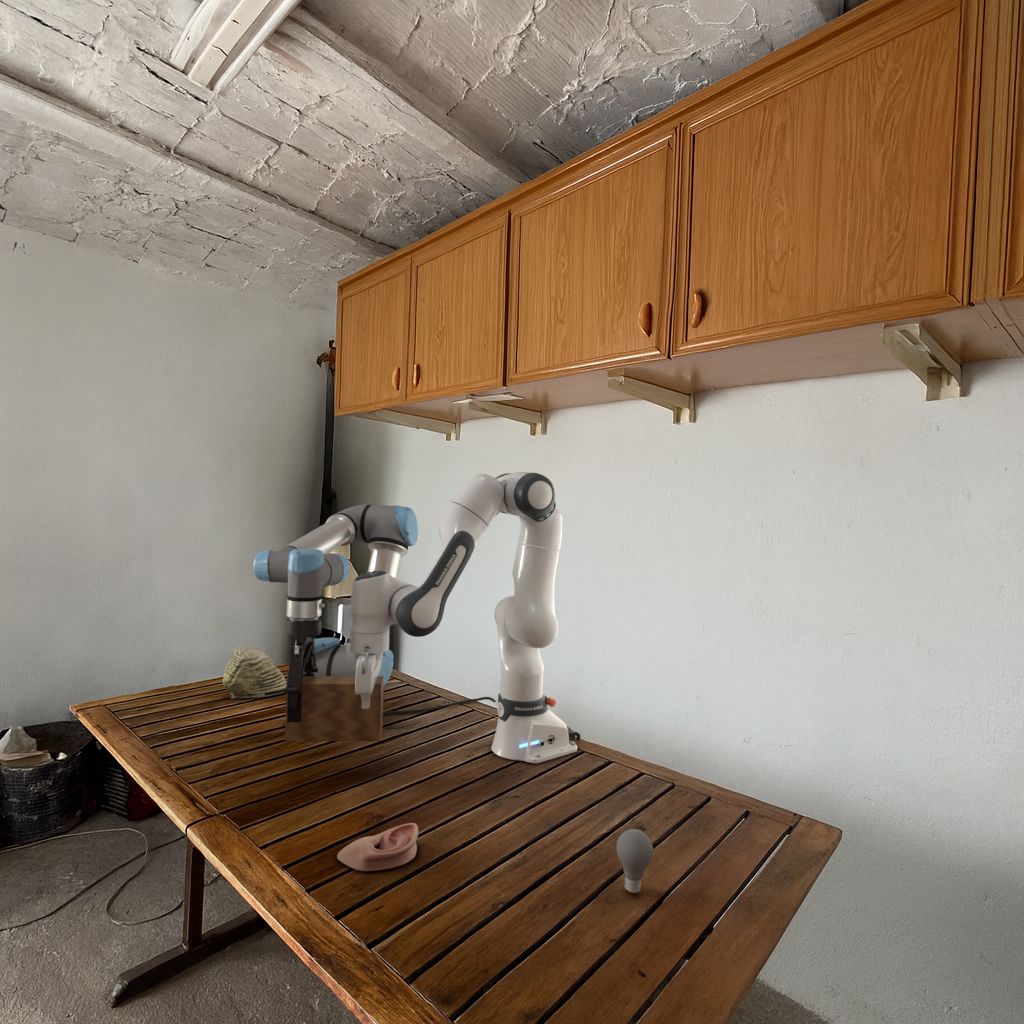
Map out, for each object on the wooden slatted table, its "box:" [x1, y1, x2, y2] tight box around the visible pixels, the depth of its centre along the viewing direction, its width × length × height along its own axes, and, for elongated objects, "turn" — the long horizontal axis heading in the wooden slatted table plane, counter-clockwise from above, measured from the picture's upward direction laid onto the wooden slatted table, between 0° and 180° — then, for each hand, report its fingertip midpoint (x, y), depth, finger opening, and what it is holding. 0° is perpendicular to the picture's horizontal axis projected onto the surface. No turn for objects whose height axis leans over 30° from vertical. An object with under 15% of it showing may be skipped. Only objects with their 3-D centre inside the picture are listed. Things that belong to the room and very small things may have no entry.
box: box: [284, 676, 385, 743], centre depth 144 cm, size 21×6×13 cm, turn 96°
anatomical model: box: [336, 822, 419, 872], centre depth 113 cm, size 13×4×12 cm
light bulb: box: [615, 828, 654, 894], centre depth 106 cm, size 6×6×10 cm
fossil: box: [222, 646, 287, 699], centre depth 198 cm, size 9×18×15 cm, turn 132°
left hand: (301, 711), depth 143 cm, fingers open, 13 cm apart
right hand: (367, 702), depth 145 cm, fingers closed on box, 6 cm apart
